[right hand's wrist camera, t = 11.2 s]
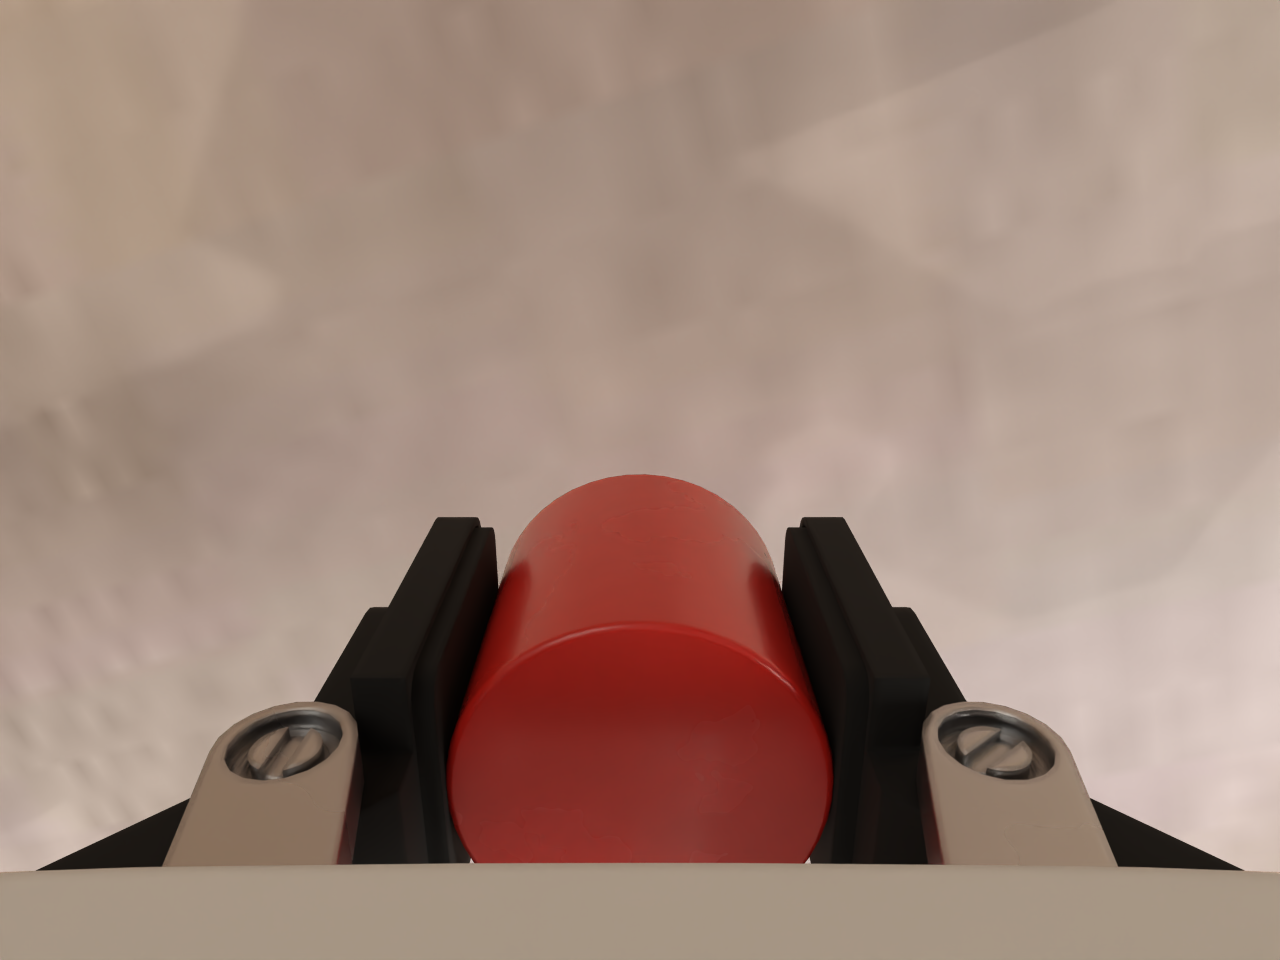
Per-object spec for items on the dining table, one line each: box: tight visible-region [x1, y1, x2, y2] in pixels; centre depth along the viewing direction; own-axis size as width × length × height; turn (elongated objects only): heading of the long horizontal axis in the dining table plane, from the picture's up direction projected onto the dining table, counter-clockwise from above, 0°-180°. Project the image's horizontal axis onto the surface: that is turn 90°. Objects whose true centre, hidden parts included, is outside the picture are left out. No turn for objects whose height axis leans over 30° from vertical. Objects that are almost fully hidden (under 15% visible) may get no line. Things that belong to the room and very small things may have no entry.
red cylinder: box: [446, 474, 834, 864], centre depth 11 cm, size 4×4×4 cm
